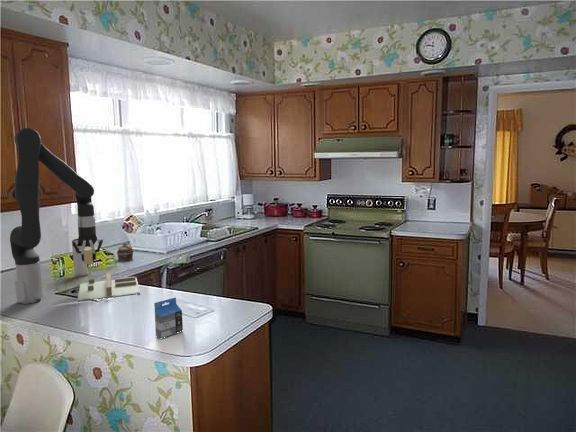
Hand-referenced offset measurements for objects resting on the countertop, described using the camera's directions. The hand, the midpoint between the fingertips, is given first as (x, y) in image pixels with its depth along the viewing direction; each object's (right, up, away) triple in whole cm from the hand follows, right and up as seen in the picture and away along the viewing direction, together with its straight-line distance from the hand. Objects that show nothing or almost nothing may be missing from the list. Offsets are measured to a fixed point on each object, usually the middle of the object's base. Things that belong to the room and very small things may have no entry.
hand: (88, 261), depth 209 cm
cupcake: (-4, -5, +59) cm, 59 cm away
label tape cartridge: (+52, -21, -52) cm, 77 cm away
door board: (+10, -14, 0) cm, 17 cm away
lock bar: (0, -1, 0) cm, 0 cm away
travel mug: (-15, -11, +24) cm, 30 cm away
